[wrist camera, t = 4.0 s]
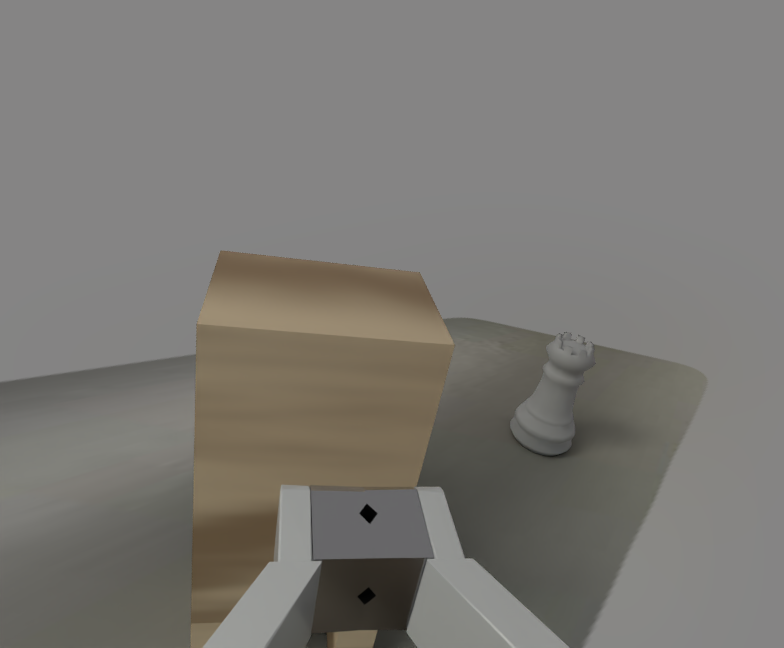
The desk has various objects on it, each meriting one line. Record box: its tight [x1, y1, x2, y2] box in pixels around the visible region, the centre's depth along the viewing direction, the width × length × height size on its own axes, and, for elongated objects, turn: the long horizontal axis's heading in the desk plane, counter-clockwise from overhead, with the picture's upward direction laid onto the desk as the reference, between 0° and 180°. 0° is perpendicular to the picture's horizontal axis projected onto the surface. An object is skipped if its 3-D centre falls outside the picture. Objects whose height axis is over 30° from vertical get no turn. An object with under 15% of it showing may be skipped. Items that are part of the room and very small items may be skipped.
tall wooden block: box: [191, 251, 455, 648], centre depth 20 cm, size 5×7×16 cm
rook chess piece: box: [510, 332, 596, 456], centre depth 37 cm, size 4×4×8 cm
